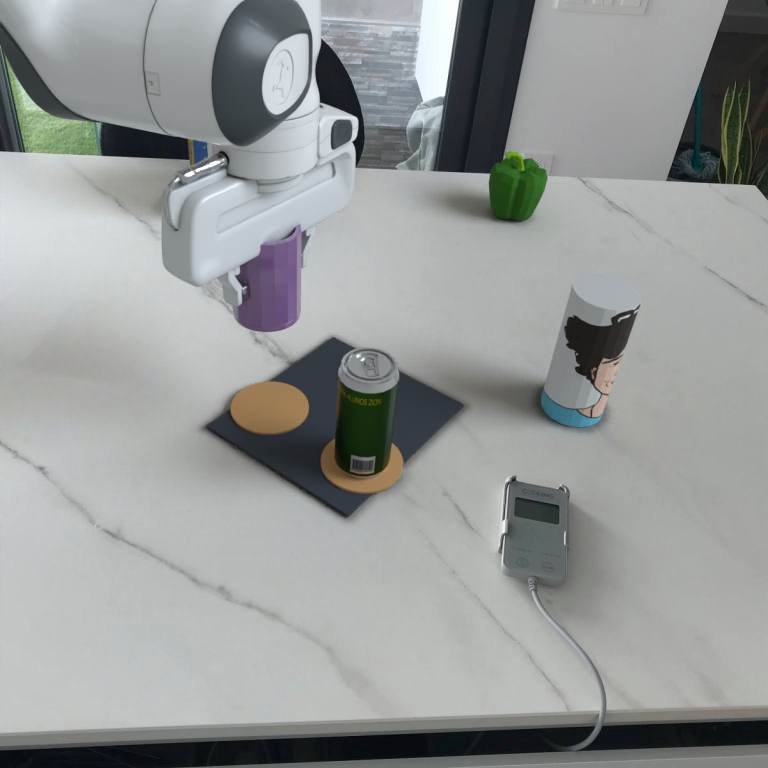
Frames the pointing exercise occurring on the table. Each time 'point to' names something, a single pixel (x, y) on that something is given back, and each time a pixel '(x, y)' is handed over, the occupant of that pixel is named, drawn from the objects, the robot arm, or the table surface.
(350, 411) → the beer can
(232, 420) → the placemat
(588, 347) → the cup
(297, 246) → the purple cup
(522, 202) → the bell pepper
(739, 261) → the table surface
